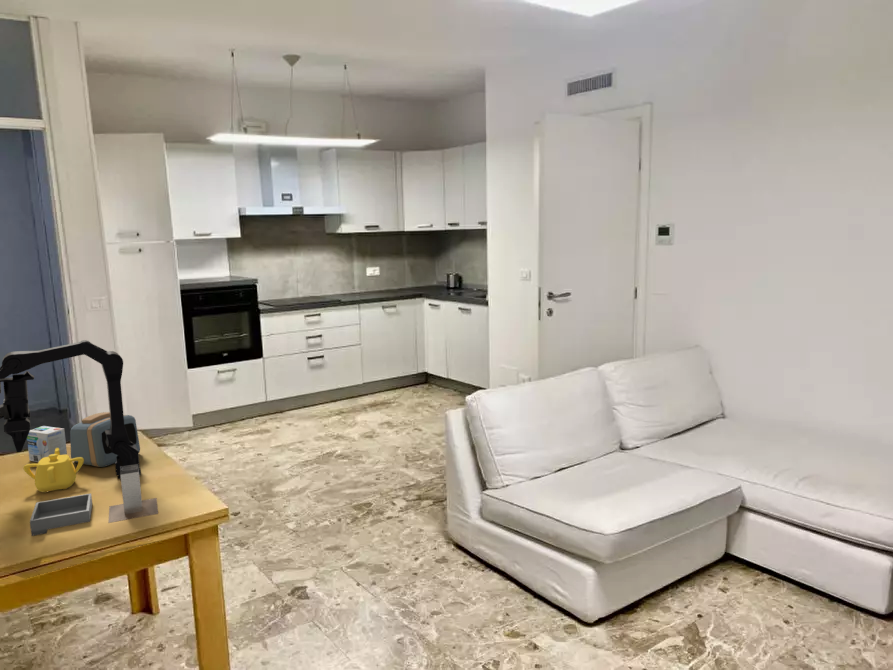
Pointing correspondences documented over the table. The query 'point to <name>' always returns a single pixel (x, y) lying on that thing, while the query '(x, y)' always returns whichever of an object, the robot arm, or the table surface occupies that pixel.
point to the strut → (131, 489)
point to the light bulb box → (45, 442)
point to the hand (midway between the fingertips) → (19, 447)
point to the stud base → (147, 509)
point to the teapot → (54, 471)
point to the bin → (60, 513)
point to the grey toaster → (98, 439)
